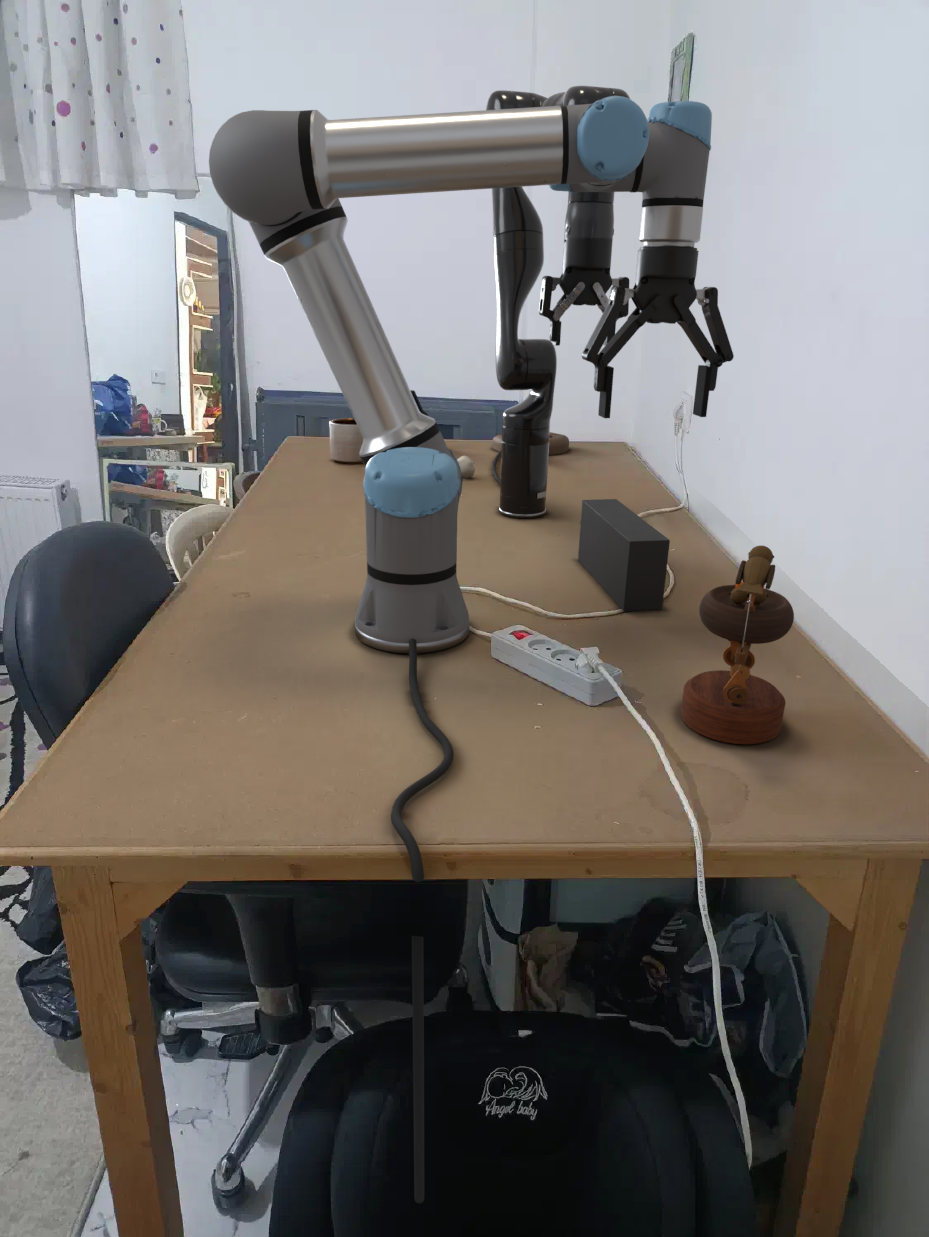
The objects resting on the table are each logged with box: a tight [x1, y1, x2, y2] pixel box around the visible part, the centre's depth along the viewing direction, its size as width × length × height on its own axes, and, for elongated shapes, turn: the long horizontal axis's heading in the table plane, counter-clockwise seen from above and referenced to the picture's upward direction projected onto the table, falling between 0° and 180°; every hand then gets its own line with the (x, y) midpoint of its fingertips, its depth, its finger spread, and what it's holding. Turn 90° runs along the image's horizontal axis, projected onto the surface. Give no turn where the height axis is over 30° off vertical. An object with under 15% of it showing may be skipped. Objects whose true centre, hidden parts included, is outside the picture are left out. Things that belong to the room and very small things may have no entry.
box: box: [577, 498, 671, 612], centre depth 130 cm, size 23×6×10 cm, turn 9°
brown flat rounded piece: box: [491, 431, 570, 456], centre depth 224 cm, size 21×28×4 cm
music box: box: [680, 545, 795, 745], centre depth 89 cm, size 15×11×20 cm
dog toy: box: [456, 455, 476, 479], centre depth 196 cm, size 20×6×5 cm, turn 99°
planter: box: [328, 417, 364, 464], centre depth 212 cm, size 11×11×10 cm
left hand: (652, 416), depth 115 cm, fingers open, 13 cm apart
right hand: (581, 345), depth 138 cm, fingers open, 8 cm apart
